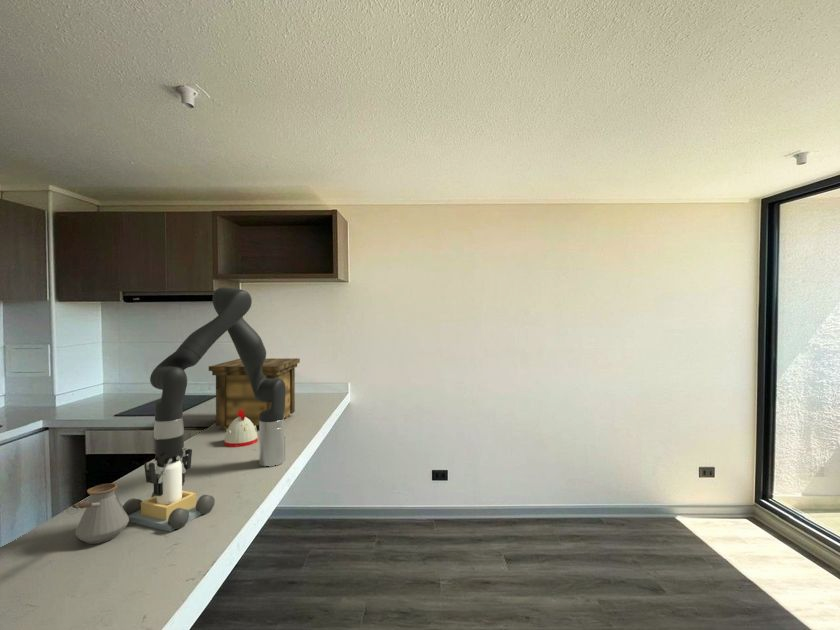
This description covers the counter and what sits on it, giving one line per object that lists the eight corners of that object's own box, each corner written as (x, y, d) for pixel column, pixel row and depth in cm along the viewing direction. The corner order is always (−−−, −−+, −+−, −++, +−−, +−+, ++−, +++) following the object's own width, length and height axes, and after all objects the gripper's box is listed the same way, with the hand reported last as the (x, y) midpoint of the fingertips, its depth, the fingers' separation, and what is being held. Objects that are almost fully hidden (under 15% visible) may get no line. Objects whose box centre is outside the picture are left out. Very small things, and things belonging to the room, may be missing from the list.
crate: (209, 431, 210) (208, 366, 210) (240, 414, 245) (240, 358, 245) (278, 431, 209) (278, 366, 209) (300, 414, 244) (299, 358, 244)
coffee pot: (88, 528, 116) (87, 474, 116) (135, 522, 119) (135, 469, 119) (42, 574, 96) (41, 509, 96) (101, 566, 99) (100, 503, 99)
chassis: (166, 499, 134) (165, 483, 134) (214, 509, 127) (214, 492, 127) (121, 520, 121) (121, 502, 121) (173, 532, 114) (173, 514, 114)
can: (159, 498, 126) (158, 458, 126) (183, 494, 128) (183, 455, 128) (154, 507, 120) (153, 465, 120) (180, 503, 122) (179, 462, 122)
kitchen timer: (229, 449, 183) (229, 414, 183) (221, 441, 194) (220, 409, 193) (261, 442, 192) (261, 410, 192) (251, 436, 202) (251, 404, 202)
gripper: (180, 426, 132) (181, 479, 132) (136, 439, 118) (136, 498, 118) (199, 428, 129) (199, 482, 129) (155, 442, 116) (156, 502, 116)
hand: (169, 490), depth 124 cm, fingers closed on can, 6 cm apart
